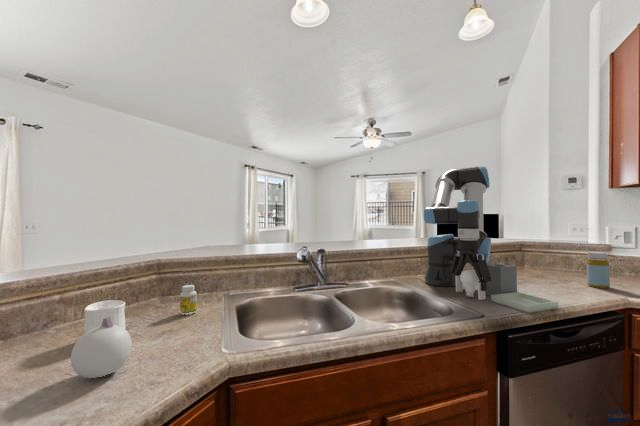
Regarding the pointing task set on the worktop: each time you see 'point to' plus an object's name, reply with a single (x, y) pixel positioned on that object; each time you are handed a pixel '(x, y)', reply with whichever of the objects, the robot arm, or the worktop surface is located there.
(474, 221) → the robot arm
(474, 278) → the light bulb
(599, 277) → the bottle
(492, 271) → the box
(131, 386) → the worktop surface
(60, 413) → the worktop surface
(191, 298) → the supplement bottle
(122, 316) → the cup
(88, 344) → the ornament
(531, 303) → the tray
